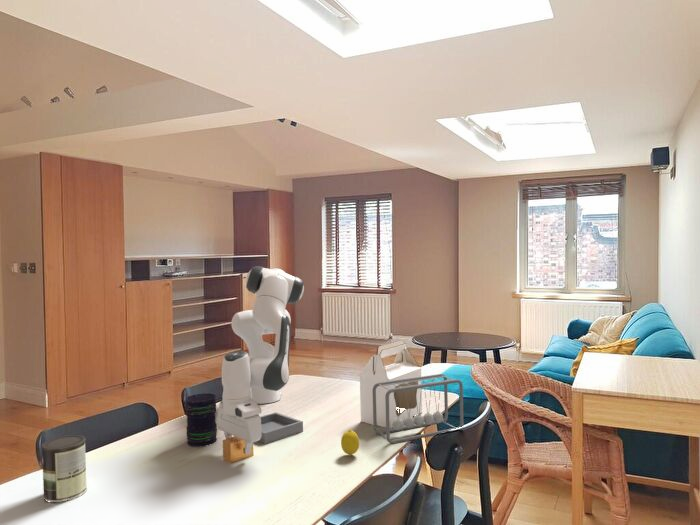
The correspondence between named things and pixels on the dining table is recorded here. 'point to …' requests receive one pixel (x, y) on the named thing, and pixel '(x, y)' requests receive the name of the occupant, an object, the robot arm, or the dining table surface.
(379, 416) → the gable box
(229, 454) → the wooden block
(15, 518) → the dining table surface
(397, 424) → the newton's cradle
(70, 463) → the coffee can
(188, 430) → the black ridged cylinder
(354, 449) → the lemon
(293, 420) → the grey tray
